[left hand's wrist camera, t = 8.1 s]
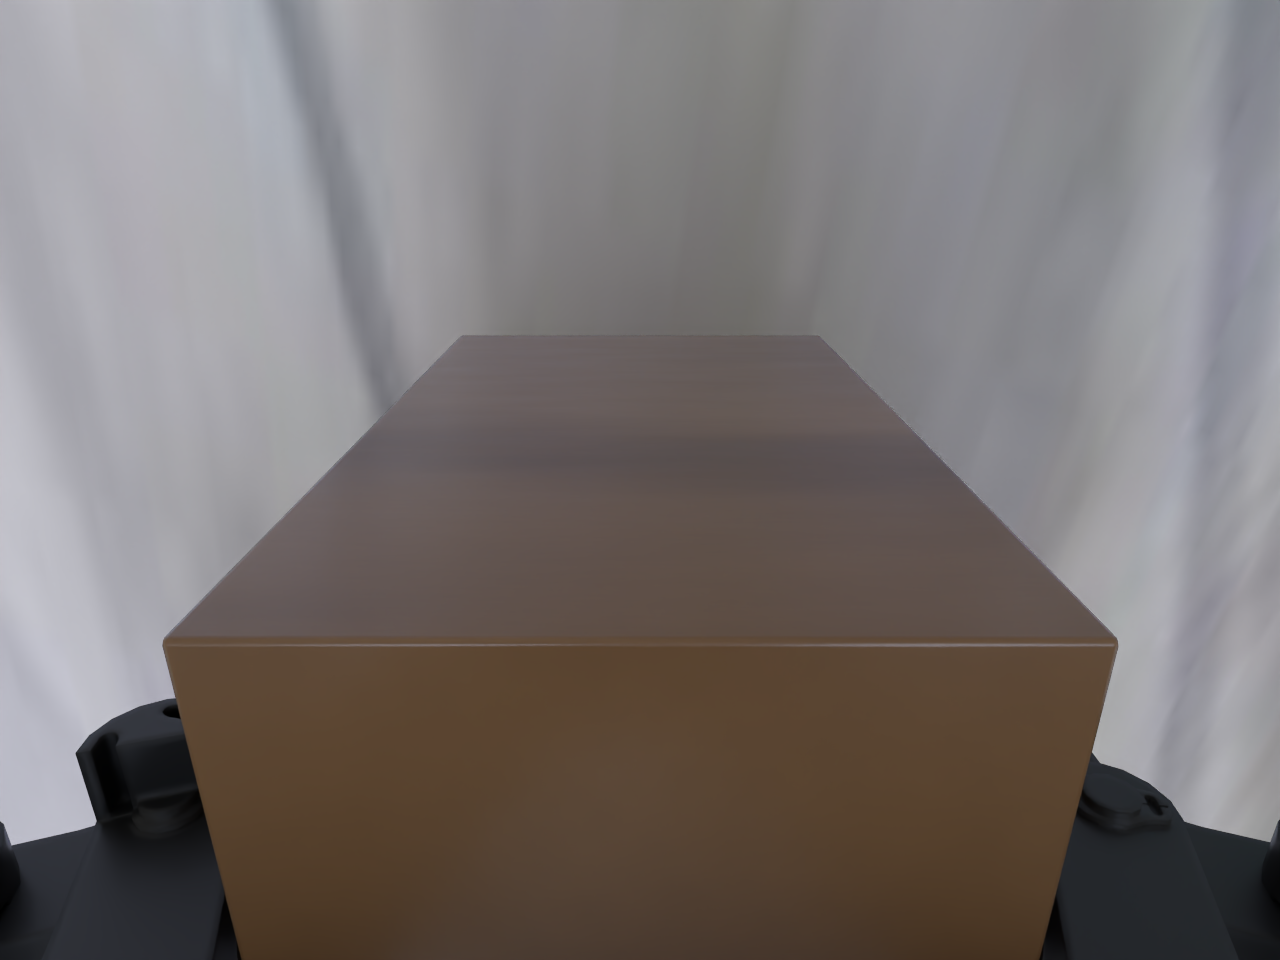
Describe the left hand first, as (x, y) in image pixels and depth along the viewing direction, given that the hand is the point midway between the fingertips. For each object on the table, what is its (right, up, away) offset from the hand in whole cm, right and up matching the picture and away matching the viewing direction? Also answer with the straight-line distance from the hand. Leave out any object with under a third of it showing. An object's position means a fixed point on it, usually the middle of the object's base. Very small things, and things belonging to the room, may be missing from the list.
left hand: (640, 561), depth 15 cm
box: (0, -7, +4) cm, 8 cm away
